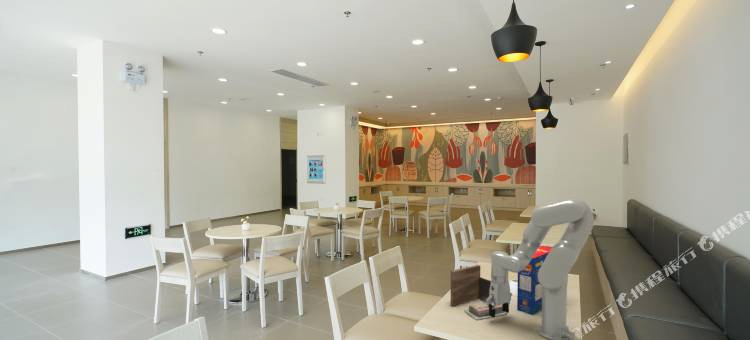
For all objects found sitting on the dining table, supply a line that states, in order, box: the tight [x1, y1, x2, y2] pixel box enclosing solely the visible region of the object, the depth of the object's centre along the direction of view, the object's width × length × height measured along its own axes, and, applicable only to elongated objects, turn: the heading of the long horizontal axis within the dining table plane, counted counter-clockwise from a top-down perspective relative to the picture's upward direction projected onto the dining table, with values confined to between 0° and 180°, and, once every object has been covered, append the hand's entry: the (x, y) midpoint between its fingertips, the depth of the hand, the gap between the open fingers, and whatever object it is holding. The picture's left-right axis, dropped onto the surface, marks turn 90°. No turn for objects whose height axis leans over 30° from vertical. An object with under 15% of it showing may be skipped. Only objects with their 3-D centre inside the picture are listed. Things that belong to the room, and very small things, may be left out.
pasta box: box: [516, 245, 552, 316], centre depth 185 cm, size 28×8×28 cm, turn 132°
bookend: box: [478, 276, 491, 303], centre depth 190 cm, size 10×6×12 cm, turn 32°
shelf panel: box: [450, 264, 481, 308], centre depth 189 cm, size 2×20×18 cm, turn 122°
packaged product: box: [464, 302, 508, 321], centre depth 175 cm, size 18×5×10 cm
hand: (498, 314), depth 169 cm, fingers open, 9 cm apart
